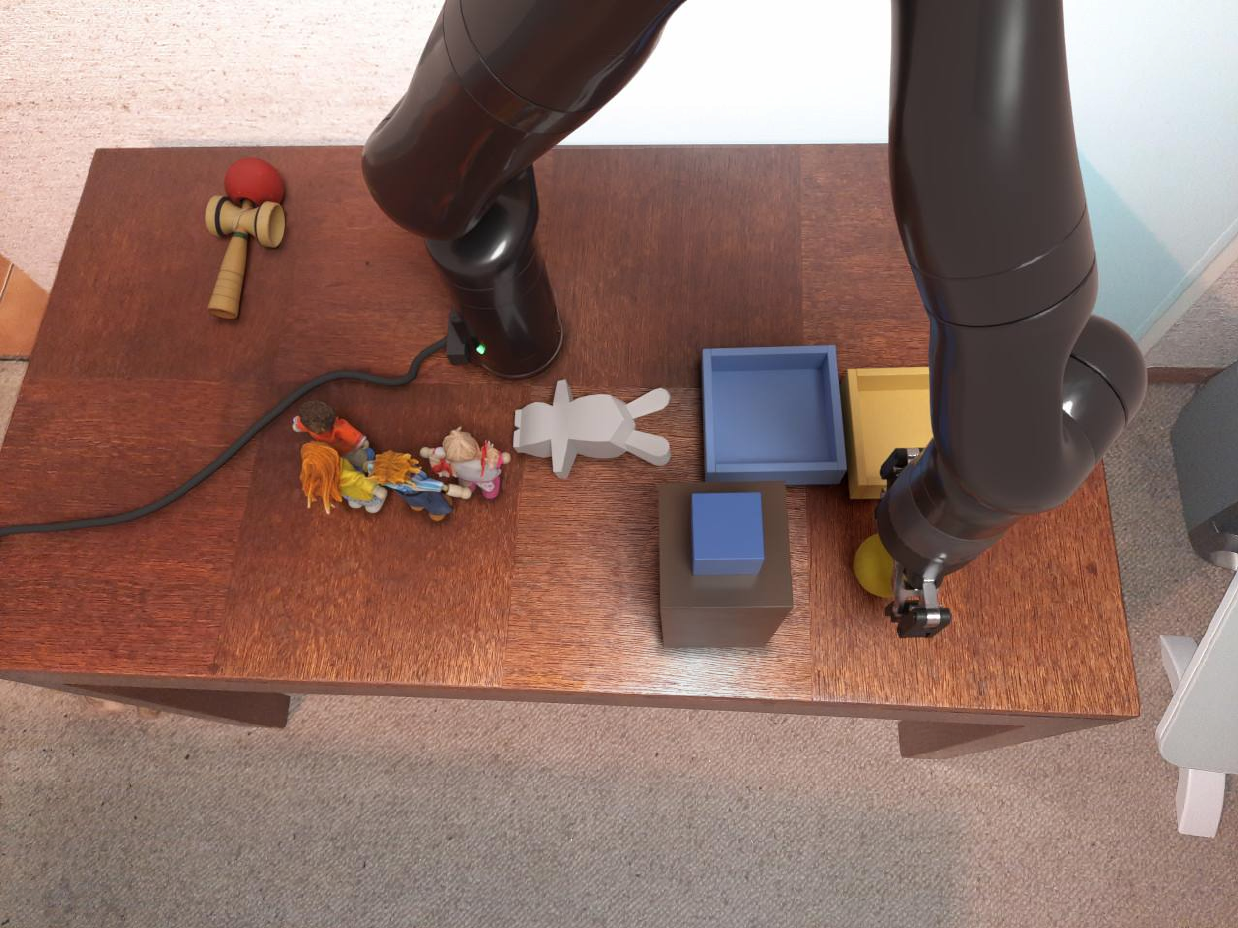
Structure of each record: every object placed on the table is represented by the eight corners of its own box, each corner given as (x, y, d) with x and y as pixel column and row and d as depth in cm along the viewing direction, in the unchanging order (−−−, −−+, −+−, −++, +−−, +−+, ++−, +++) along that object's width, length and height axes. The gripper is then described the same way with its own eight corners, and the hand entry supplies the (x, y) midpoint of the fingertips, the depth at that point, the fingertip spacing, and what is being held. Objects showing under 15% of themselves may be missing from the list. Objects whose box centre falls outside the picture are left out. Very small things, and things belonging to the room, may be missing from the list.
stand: (663, 647, 77) (660, 608, 58) (662, 550, 80) (658, 482, 61) (764, 647, 76) (793, 607, 57) (759, 549, 79) (785, 480, 61)
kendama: (276, 327, 92) (307, 175, 96) (236, 304, 86) (271, 142, 90) (216, 326, 94) (249, 177, 98) (173, 303, 88) (210, 146, 92)
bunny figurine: (512, 376, 82) (666, 366, 80) (527, 398, 87) (673, 389, 84) (506, 469, 79) (666, 462, 77) (522, 486, 84) (673, 480, 81)
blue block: (692, 575, 59) (693, 560, 54) (690, 512, 60) (691, 493, 56) (758, 574, 58) (764, 559, 54) (755, 511, 60) (761, 491, 56)
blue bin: (705, 486, 82) (706, 472, 78) (701, 367, 86) (702, 348, 82) (838, 484, 81) (847, 469, 77) (828, 364, 85) (835, 345, 81)
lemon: (920, 572, 78) (946, 550, 70) (882, 617, 77) (905, 600, 69) (871, 532, 79) (891, 507, 72) (833, 576, 78) (850, 555, 71)
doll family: (526, 473, 83) (500, 421, 71) (500, 567, 80) (468, 530, 68) (324, 434, 86) (265, 377, 74) (291, 523, 83) (224, 480, 71)
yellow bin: (850, 499, 80) (858, 485, 77) (839, 386, 84) (847, 368, 80) (976, 497, 80) (991, 483, 76) (959, 383, 84) (973, 365, 80)
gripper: (879, 413, 61) (839, 485, 76) (901, 613, 56) (854, 647, 71) (987, 410, 60) (925, 483, 76) (1019, 611, 56) (946, 646, 71)
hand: (891, 563), depth 73 cm, fingers open, 8 cm apart
